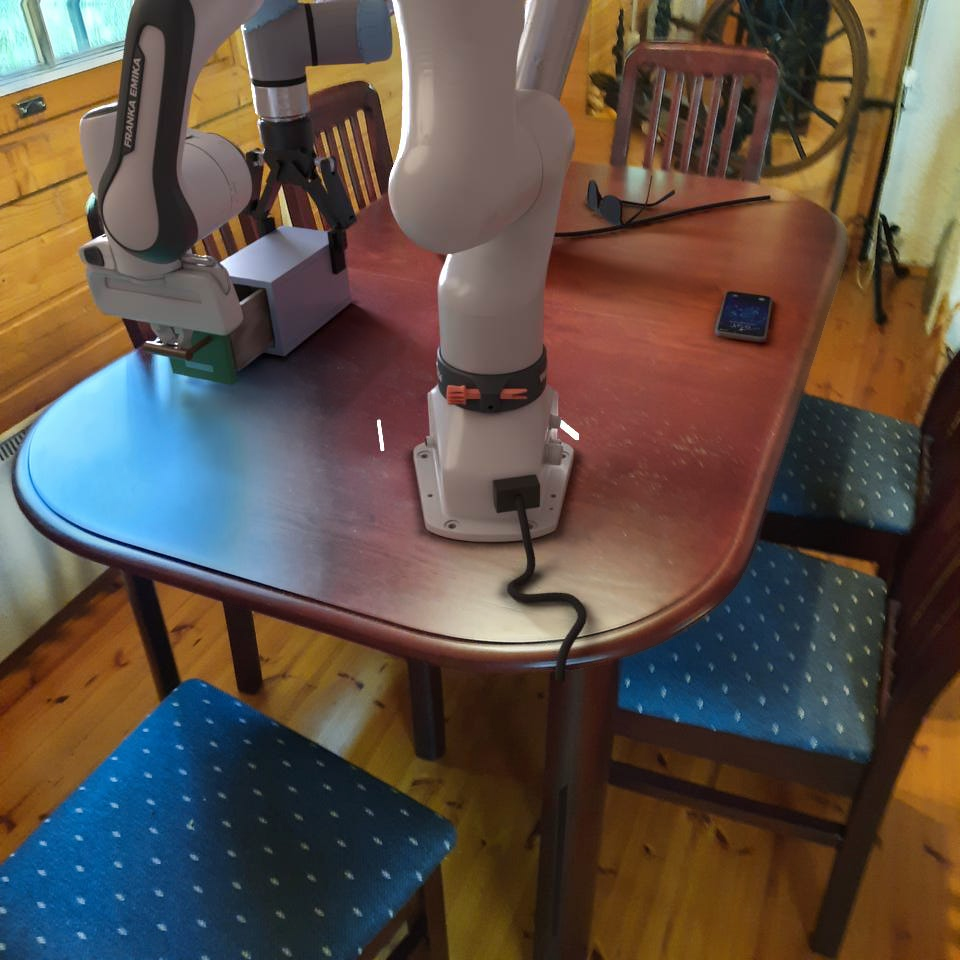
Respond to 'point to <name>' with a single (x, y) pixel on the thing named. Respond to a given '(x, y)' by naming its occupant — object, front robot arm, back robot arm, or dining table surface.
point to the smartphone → (744, 316)
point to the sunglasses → (615, 204)
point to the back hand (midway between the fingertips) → (306, 266)
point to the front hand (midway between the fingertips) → (180, 353)
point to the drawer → (224, 342)
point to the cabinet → (293, 282)
